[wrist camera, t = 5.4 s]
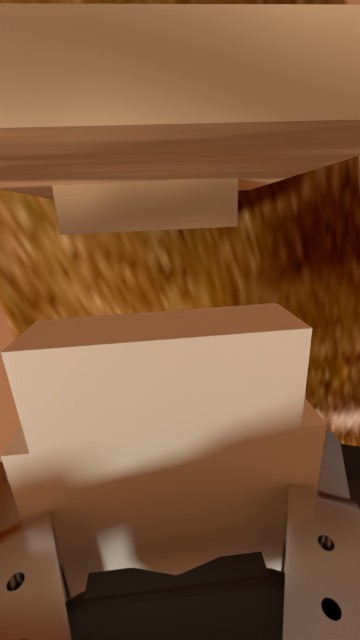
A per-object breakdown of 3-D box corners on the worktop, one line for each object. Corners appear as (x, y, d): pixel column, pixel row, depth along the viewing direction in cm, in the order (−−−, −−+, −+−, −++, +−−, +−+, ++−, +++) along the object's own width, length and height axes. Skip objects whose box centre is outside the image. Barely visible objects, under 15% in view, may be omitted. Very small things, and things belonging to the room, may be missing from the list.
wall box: (78, 273, 11) (-33, 355, 4) (234, 263, 11) (341, 325, 5) (108, 454, 14) (68, 664, 7) (231, 442, 14) (296, 631, 8)
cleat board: (30, 107, 21) (-524, -397, 4) (250, 102, 22) (589, -310, 5) (52, 231, 24) (-211, 261, 7) (247, 222, 25) (453, 229, 8)
